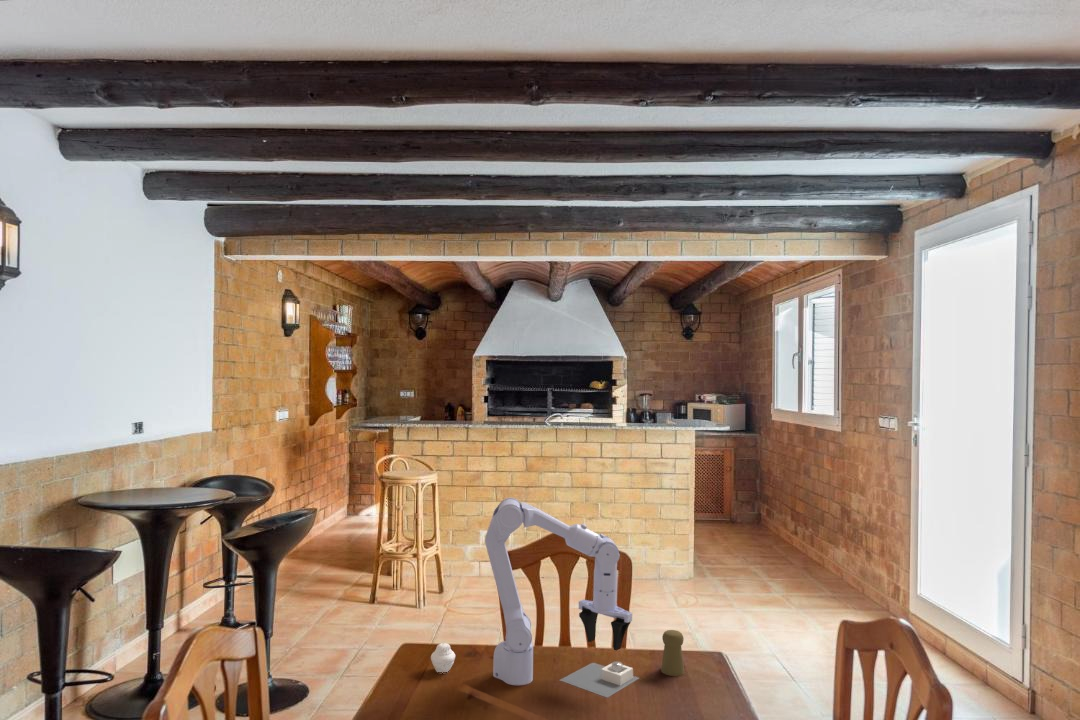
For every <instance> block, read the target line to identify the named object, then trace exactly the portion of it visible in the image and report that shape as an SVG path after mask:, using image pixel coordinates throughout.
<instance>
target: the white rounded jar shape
mask: <svg viewBox="0 0 1080 720" xmlns="http://www.w3.org/2000/svg"><path fill="white" fill-rule="evenodd" d="M430 660H431V663H432V665H433V668H434V669H435V672H436V673H438V672H442V673H443V672H447V673H449V672H450V671H449V670H451V668H452V666H453V665H454V663H455V660H456V654H455V652H454V651H453V650H452V649H451V645H450V644H449V643H448V642H447V643H446V642H442V643H438V644H437V646H436V649H435V650H434V651H433V652H432V653H431V656H430ZM448 671H449V672H448ZM442 673H441V674H442ZM443 674H444V673H443Z"/></svg>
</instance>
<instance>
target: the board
mask: <svg viewBox="0 0 1080 720" xmlns="http://www.w3.org/2000/svg"><path fill="white" fill-rule="evenodd" d="M604 667H606V666H605V665H602V664H600V663H599V664H598V663H596V662H591V663H589V664H587V665H585V666H583V667H582V668H579V669H578V670H576V671H574V672H572V673H570V674H568V675H566V676H565V677H562V678H561V679H559V681H560V682H563V683H566V684H567V685H571V686H574V687H576V688H579V689H581V690H585V691H587V692H590V693H593V694H596V695H599V696H601V697H604V698H610V697H611V696H612V695H615V694H616V693H618V692H620V691H621V690H622V689H624V688H626V687H629V685H631V684H633V683H634V682H636V681H638V680H639V679H640V677H638V676H636V675H635V676H634V675H633V678H632V679H631V680H629V681H627V682H626V683H624V684H622V685H621V686H620V685H617V684H614V683H611V682H608V681H605V680H602V679H601V669H602V668H604Z"/></svg>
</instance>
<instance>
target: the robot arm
mask: <svg viewBox="0 0 1080 720" xmlns="http://www.w3.org/2000/svg"><path fill="white" fill-rule="evenodd" d="M490 519H491V520H490V521H489V525H488V527H487V531H486V533H485V537H484V538H485V539H484V544H485V546H486V547H485V548H486V550H487V551H486V552H487V556H488V559H489V562H490V566H491V570H492V574H493V577H494V581H495V586H496V590H497V594H498V596H499V600H500V604H501V607H502V612H503V618H504V623H505V630H506V631H505V640H504V641H500V642H499V643H498V644H497V645H496V646H495V649H494V652H493V661H492V662H493V663H492V665H493V666H492V667H493V670H492V673H493V674H492V676H493V677H494V678H495V679H498V680H501V681H502V682H504V683H506V684H508V685H512V686H524V685H528V684H530V683H532V682H533V679H534V677H533V676H534V643H533V635H532V634H533V633H532V622H531V620H530V618H529V616H528V615H527V614H526V613H525V611H524V607H523V604H522V602H521V598H520V594H519V590H518V587H517V583H516V580H515V576H514V575H515V574H514V573H513V568H512V564H511V561H510V560H511V559H510V556H509V553H508V549H507V545H506V542H507V540H508V539H509V538H510V536H511V534H512V533H514V532H515V531H516V530H518V529H519V528H520V527H521V525H522V524H523V528H529V527H533V526H534V527H535V526H537V527H539V528H541V529H543V530H546V531H548V532H550V533H552V534H555V536H556V535H557V536H559V537H561V538H563V539H564V541H565V544H566V546H568V547H569V548H572V549H573V550H576V551H578V552H580V553H582V554H584V555H586V556H587V557H594V569H593V589H592V590H593V595H592V597H593V598H592V599H593V600H587V599H582V600H579V601H578V610H580V612H579V614H578V616H579V619H580V620H581V622H582V624H583V627H584V630H585V634H586V637H587V642H588V643H592V642H593V641H594V642H595V640H596V633H597V631H596V630H597V622H598V615H602V616H606V617H610V618H614V619H615V620H611V622H610V625H611V629H612V636H613V637H612V638H613V639H612V641H613V644H612V647H613V650H614V651H618V650H620V649H622V644H623V640H624V638H625V634H626V631H627V630H628V628H629V626H630V624H631V622H633V612H630V611H628V610H625V609H624V608H622V607H619V606H618V603H617V602H618V601H617V600H618V569H617V567H618V562H619V560H620V557H621V554H620V551H619V548H618V546H617V544H616V542H615V541H614V540H613V539H611V538H610V537H609V536H607V535H604V534H603V533H599V534H598V533H597V532H595V531H592V530H591V529H588V526H587V524H585V523H581V524H579V523H574V524H572V525H569V524H567V523H565V522H563V521H562V520H560V519H558V518H556V517H553V516H552V515H550V514H549V513H547V512H545V511H543V510H541V509H540V508H538V507H535V506H533V505H531V504H530V503H527V502H525V501H519V500H518V499H516V498H514V497H507V498H504V499H503V500H501V501H500V503H499V504H497V506H496V507H495V509H494V510H493V513H492V517H491V518H490Z"/></svg>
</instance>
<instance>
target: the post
mask: <svg viewBox="0 0 1080 720" xmlns="http://www.w3.org/2000/svg"><path fill="white" fill-rule="evenodd" d="M611 663H612V671H614V672H617V673H621V672H622V666H623V665H624V664H623V662H621V661H612V662H611Z"/></svg>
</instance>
